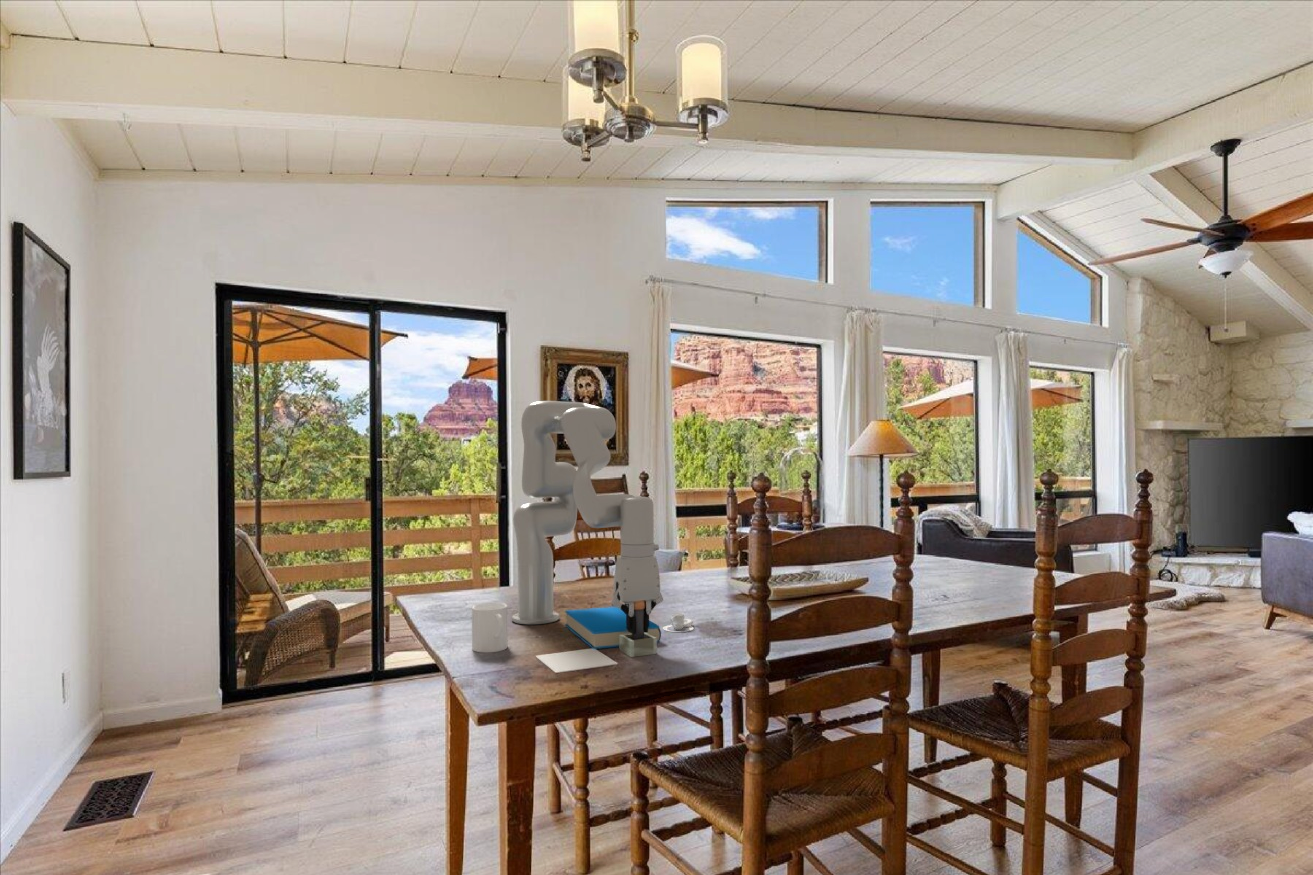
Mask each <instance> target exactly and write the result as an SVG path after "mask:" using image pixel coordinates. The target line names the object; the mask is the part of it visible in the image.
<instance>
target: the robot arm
mask: <svg viewBox="0 0 1313 875" xmlns="http://www.w3.org/2000/svg"><path fill="white" fill-rule="evenodd" d="M520 423H521V425H520V426H521V432H522V438H523V454H522V456H523V457H522V474H521V488H522V491H523V494H524V495H525V496H526V497H528V498H533V499H534V498H535V499H541V498H543V499H545V498H554V501H538V502H537V501H536V502H535V501H534V502H527V503H523V504H522V505H520V506H518V507H517V508H516V510H515V511H514V513H513V518H512V519H513V520H512V521H513V528H514V533H515V539H516V547H517V549H516V553H517V559H516V560H517V561H516V562H517V613H514V614H513V615H512V617H511V621H512V622H514V623H515V624H521V625H543V624H550V623H554V622H557V621H558V620H559V619H560V614H559V612H556V611H554V554H553V550H552V548H551V546H550V544H549V542H548V541H547V539H546V538H547V537H555V536H556V537H558V536H559V537H560V536H565V535H569V534H570V533H572V532H573V530H574V529H575V527H576V525H577V517H578V513H579V514H580V517H581V518H582V520H583V521H584V523H585V524H586V525H587V526H589V527H590V528H594V529H601V528H611V527H612V528H613V527H616V528H617V527H620V556H617V558H616V562H615V566H614V575H613V576H614V578H613V588H612V589H613V598H612V601H611V603H610V604H611V607H617V608H619V609H621V610H622V611H623V612H624V613H625V614H626V628H627V630H628V632H630V633H632V634H635V633H636V617H635V616H634V602H639V601H645V608H644V632H645V633H646V632H648V627H649V621H650V615H651V613H652V611H653V610H654V608H655V607H656V606H657V605H659V604H661V603H663V601H664V597H663V595H662V593H661V578H660V577H661V576H660V571H659V570H660V569H659V564H658V559H657V556H655V552H656V551H659V549H660V546H659V544H655V541H654V539H655V538H654V536H655V533H654V520H655V518H654V501H653V499H652V498H651V497H647V496H635V495H632V494H628V493H621V494H619V493H618V494H600V495H599V494H598V495H597V493H596V490H595V487H594V485H593V484H592V478H591V476H592V475H594V474H596V473H598V472H600V471H601V470H603V469H604V468H605V467H606V466H607V465H608V464H609V463H610V461H611V457H612V455H611V452H610V450H609V449H608V445H607V444H606V442H605V441H609V440H610V439H612V438H613V437H614V436H615V434H616V428H617V423H616V419H615V417H614V415H613V414H612V412H611V411H610V410H608V409H607V408H605V407H601V406H597V405H593V404H591V403H590V404H589V403H586V402H579V401H558V400H540V401H538V400H537V401H534V402H532V403H529V404H528V405H527V406H526V407H525V408H524V410H523V413H522V417H521V422H520ZM551 434H563V436H564V437H565V440H566V442H567V444H568V447H569V449H570V452H571V453H572V456H573V459H574V461H575V463H576V466H577V469H576V467H575V466H574V465H573V464H572V463H569V462H566V461H557V462H556V454H557V453H556V452H557V450H556V447H557V446H556V444H555V442H554V439H553V437H552V436H551Z"/></svg>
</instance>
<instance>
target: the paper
mask: <svg viewBox="0 0 1313 875" xmlns="http://www.w3.org/2000/svg"><path fill="white" fill-rule="evenodd" d="M534 657H535V658H536V659H538V661H540V662H541V663H542V664H544V666H546V667H547V668H549V669H550V670H551V671H552V672H554V673H555V674H559V673H561V674H562V673H567V672H568V673H569V672H574V671H579V670H580V671H582V670H586V669H587V670H588V669H594V668H601V667H608V666H615V665H616V666H617V665H618V664H619V663H618V662H616V661H615V660H614V659H612V658H610V657H609V656H607V655H605V654H604V653H602V652H600V651H599V650H597V649H593V648H592V647H591V648H585V649H578V650H577V649H576V650H569V651H563V652H555V653H546V654H538V655H535V656H534Z"/></svg>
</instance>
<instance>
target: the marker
mask: <svg viewBox="0 0 1313 875" xmlns="http://www.w3.org/2000/svg"><path fill="white" fill-rule="evenodd" d="M644 608H645V601H639V602H634V616H635V617H636V633H635V634H632V640H637V639H644Z"/></svg>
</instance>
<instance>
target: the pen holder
mask: <svg viewBox="0 0 1313 875" xmlns="http://www.w3.org/2000/svg"><path fill="white" fill-rule="evenodd" d="M657 645H658V643H657V638H656V637H654V636H652V635H650V634H648V633H645V632H644V639H637V640H632V634H624V635H619V647H618V648H619V652H621V653H623V654H625V655H627V656H629V657H630V658H633V657H635V658H636V657H642V656H649V655H655V654H658V651H657V650H658V649H657V648H658V647H657Z"/></svg>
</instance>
